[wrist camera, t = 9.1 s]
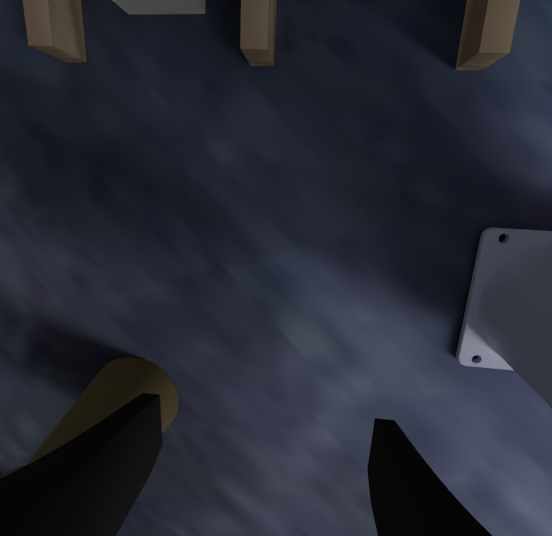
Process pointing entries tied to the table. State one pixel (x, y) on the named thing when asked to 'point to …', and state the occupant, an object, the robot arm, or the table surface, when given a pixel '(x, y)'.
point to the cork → (112, 400)
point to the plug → (162, 6)
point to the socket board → (272, 31)
